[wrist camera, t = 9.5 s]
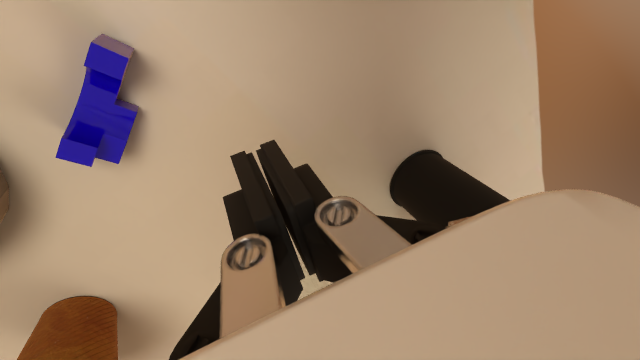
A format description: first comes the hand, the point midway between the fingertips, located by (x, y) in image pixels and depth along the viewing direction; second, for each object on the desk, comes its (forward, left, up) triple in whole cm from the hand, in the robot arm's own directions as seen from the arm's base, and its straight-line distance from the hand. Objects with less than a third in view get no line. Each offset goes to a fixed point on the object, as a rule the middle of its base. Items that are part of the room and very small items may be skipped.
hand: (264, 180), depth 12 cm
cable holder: (-1, -7, -18) cm, 19 cm away
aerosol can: (+20, +19, -18) cm, 33 cm away
